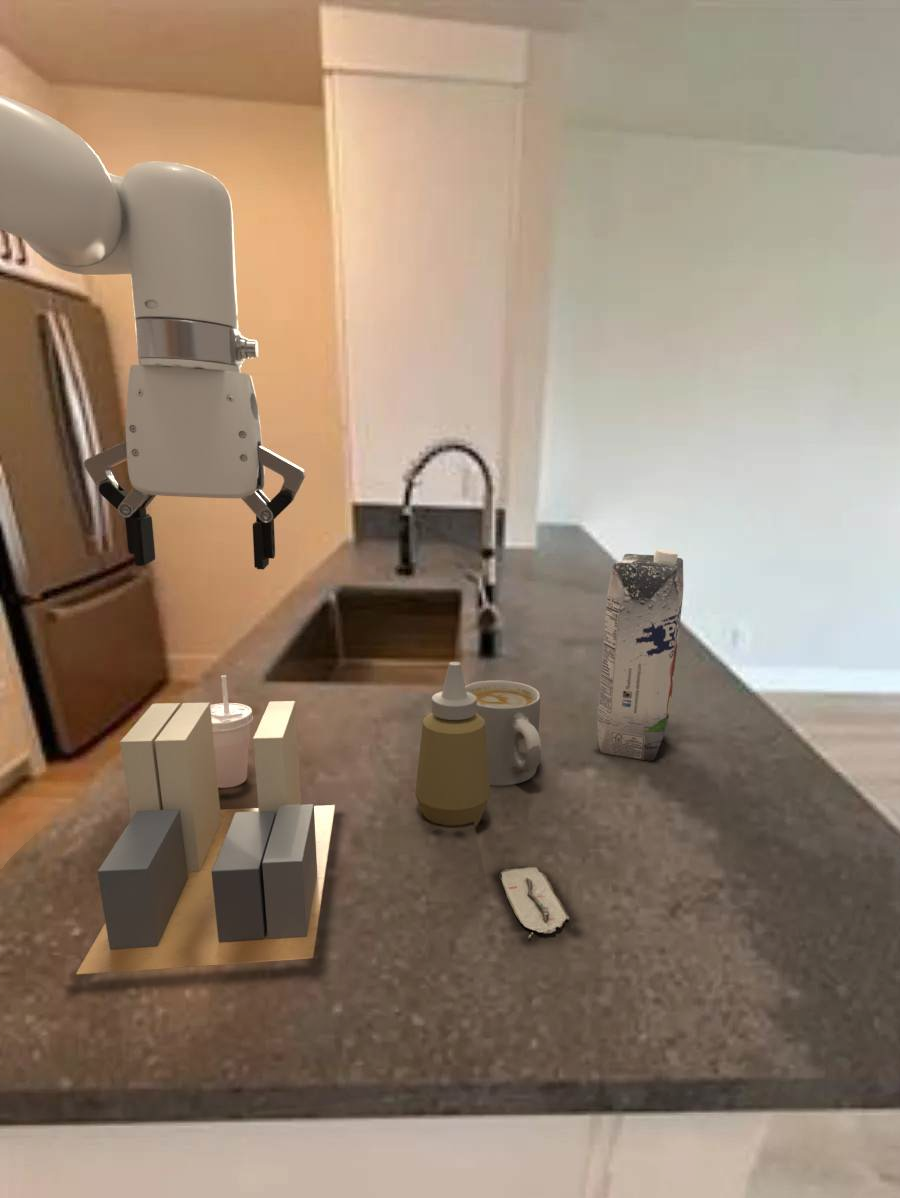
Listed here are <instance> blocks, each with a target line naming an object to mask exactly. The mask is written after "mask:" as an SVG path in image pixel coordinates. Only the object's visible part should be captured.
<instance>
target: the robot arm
mask: <svg viewBox="0 0 900 1198" xmlns="http://www.w3.org/2000/svg"><path fill="white" fill-rule="evenodd" d="M231 199H232V198H231V196H230V193H229V191H228V189H227V187H226V186H225V184H224V183H223V182H222V181H221V180H220V179H218V178H217V177H216V176H215V175H213V174H211V173H209V172H206V171H205V170H202V169H200V168H196V167H194V166H192V165H191V166H190V165H187V164H182V163H177V162H170V161H162V160H161V161H158V160H154V161H153V160H152V161H144V162H143V161H142V162H139V163H136V164H134V165H132V166H131V167H130V168H129V169H128V170H127V172H126V173H125V175H124V176H120V175H115V174H112V173H110V172H108V170H107V169H106V167H105V165H104V164H103V162H102V160H101V159H100V157H99V155H97V152H95V150H94V149H93V148H92V147H91V146H90V145H89V144H88V143H87V142H86V141H85V140H84V139H83V138H82V137H81V136H80V135H79V134H78V133H76V132H75V131H74V130H72V129H71V128H69V127H68V126H67V125H65V124H64V123H62V122H61V121H59V120H57V119H56V118H53V117H51V116H50V115H48V114H46V113H45V112H42V111H40V110H38V109H36V108H33V107H32V106H29V105H27V104H24V103H22V102H20V101H17V100H16V99H13V98H11V97H9V96H6V95H4V94H1V93H0V230H1V231H3V232H6V233H8V234H11V235H14V236H16V237H18V238H20V239H22V241H24V242H25V243H26V244H27V245H28V247H30V248H31V249H32V250H33V251H34V252H35V253H36V254H37V255H38V256H39V257H41V258H42V259H43V260H44V261H46V262H47V263H49V264H50V265H52V266H53V267H56V268H58V269H59V270H62V271H64V272H65V271H66V272H68V273H71V274H75V275H81V276H82V275H84V276H110V275H112V276H113V275H130V280H131V281H130V282H131V289H132V290H131V291H132V293H131V294H132V305H133V315H134V324H135V325H134V326H135V337H136V349H137V358H138V364H130V368H129V374H128V382H127V395H126V409H125V414H126V415H125V440H124V441H121V442H120V443H117V444H115V445H113V446H111V447H108V448H106V449H105V450H103V451H100V452H98V453H97V454H95V455H93V456H90V457H88V458H86V459H85V460H84V462H83V466H84V468H85V470H86V472H87V473H88V475H89V477H90V478H91V479H92V481H93V483H94V484H95V485H96V486H97V488H98V492H99V494H100V495H101V496H102V497H103V498H104V499H105V500H106V501H107V502H109V503H110V504H111V505H112V506H113V507H114V508H115V509H116V510H117V513H118V514H119V516H121V517H123V518H124V520H125V532H126V541H127V551H128V553H129V554H130V555H133V557H134V558H133V559H134V564H135V566H136V567H144V566H146V565H148V564H149V563H151V562H153V561H155V560H156V551H155V550H156V548H155V538H154V527H153V526H154V525H153V518H152V516H151V515H150V513H147V508H148V506H149V505H150V504H151V503H152V502H153V500H154V499H155V498H156V496H161V497H163V496H164V497H183V498H184V497H185V498H208V499H241V500H242V501H243V502H244V504H246V506H248V508H249V509H250V510H251V511H252V513H253V514H254V515H255V521H254V522H253V523H252V539H253V540H252V543H253V545H252V546H253V564H254V569H257V570H265V569H266V568H267V567H268V565H270V559H271V560H272V559H273V560H274V559H275V557H276V538H275V537H276V536H275V535H276V534H275V519H276V518H277V517H278V516H279V515H280V514H281V513H282V512H283V511H284V510H286V508H287V507H288V506H289V505H290V504H292V502H294V501H295V497H296V495H297V494H298V492H299V489H300V487H301V486H302V484H303V482H304V480H305V477H306V472H305V470H304V469H303V468H302V467H300V466H298V465H296V464H294V463H292V462H291V461H289V460H288V459H286V458H284V457H282V456H280V455H278V454H277V453H275V452H273V451H271V450H270V449H267V448H266V447H264V446H263V437H262V427H261V420H260V419H261V418H260V413H259V405H258V401H257V394H256V390H255V386H254V382H253V378H252V375H251V374H249V373H246V372H241V367H243V363H244V362H245V360H249V359H258V358H259V344H258V341H257V340H255V339H248V338H247V337H244V336H243V335H241V332H240V331H239V316H238V315H239V314H238V297H237V296H238V295H237V277H236V259H235V258H236V257H235V235H234V217H233V215H234V214H233V205H232V204H233V203H232V200H231ZM124 462H126V464H127V473H128V478H129V482H130V484H131V487H132V488H131V490H130V491H127V490H126V489H125V488H124V487H123V486H122V485H121V484H120V483H119V482H117V480H116V479H115V476H114V474H113V473H112V470H113V468H114V467H116V466H118V465H120V464H122V463H124ZM265 467H266V468H267V469H269V470H271V471H272V472H275V473H276V474H278V475H280V476H281V477H282V478H283V483H282V486H281V487H280V490H279V492H277V494H276V495H275V496H274V497H272V498H271V500H270V499H269V498H268V496H267V495H266V494H265V493H264V492H263V491H262V490H263V489H264V487H265V483H266V469H265Z"/></svg>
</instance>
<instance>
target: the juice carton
mask: <svg viewBox="0 0 900 1198" xmlns="http://www.w3.org/2000/svg"><path fill="white" fill-rule="evenodd" d="M683 599H684V560H683V558H682V557H679V552H676V551H674V550H669V549H661V548H658V549H657V548H656V549H655V551H654V554H637V553H624V554H623V557H622V559H621V560H619V561H616V562H614V563H613V564H612V567H611V574H610V578H609V584H608V590H607V597H606V607H605V622H604V632H603V643H602V645H603V646H602V657H601V669H600V681H599V696H598V706H597V707H598V708H597V709H598V710H597V736H598V746H599V747H598V748H599V751H600V753H602V754H605V755H611V756H616V757H617V756H618V757H624V758H629V759H636V760H641V761H647V762H653V761H654V760H655V759H656V757H657V754H658V752H659V749H660V746H661V744H662V741H663V738H664V735H665V731H666V728H667V725H668V723H669V719H670V713H671V707H672V699H673V698H672V697H673V688H674V681H675V680H674V679H675V671H676V662H677V655H678V644H679V637H680V626H681V619H682V618H681V617H682V610H683V609H682V608H683Z"/></svg>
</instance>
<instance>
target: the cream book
mask: <svg viewBox="0 0 900 1198" xmlns="http://www.w3.org/2000/svg"><path fill="white" fill-rule="evenodd" d="M297 723H298V722H297V704H296V701H295V700H291V701H290V700H282V701H281V700H280V701H279V700H277V701H276V700H275V701H269V702H268V704H267V706H266V708H265V711H264V713H263V715H262V717H261V720H260V722H259V724H258V726H257V728H256V731H255V733H254V735H253V738H252V742H253V757H254V768H255V770H254V771H255V781H256V782H255V783H256V784H255V785H256V795H257V808H258V810H259V811H276V814H277V811H278V807H279V805H302V793H301V792H302V791H301V777H300V776H301V774H300V757H299V740H298V739H299V737H298V724H297Z"/></svg>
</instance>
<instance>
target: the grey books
mask: <svg viewBox="0 0 900 1198" xmlns="http://www.w3.org/2000/svg"><path fill="white" fill-rule="evenodd" d="M314 806H315V804H314V803H307V804H303V803H302V804H301V805H279V807H278V811H277V814H276V811H256V812H235V814H234V817H233V819H232V822H231V824H230V827H229V829H228V832H227V834H226V836H225V839H224V841H223V844H222V846H221V849H220V851H219V854H218V856H217V859H216V861H215V864H214V866H213V869H212V871H211V873H212V883H213V892H214V902H215V912H216V922H217V931H218V941H219V942H229V941H244V940H260V939H264V938H265V935H266V930H267V933H268V939H278V938H293V937H306V936H307V931H308V925H309V919H310V913H311V907H312V901H313V895H314V889H315V883H316V877H317V856H316V836H315V816H314ZM97 878H98V883H99V890H100V897H101V903H102V909H103V914H104V921H105V922H106V928H107V935H108V941H109V947H110V949H122V948H138V947H153V946H158V944H159V942H160V939H161V937H162V935H163V933H164V930H165V928H166V926H167V924H168V922H169V919H170V917H171V915H172V913H173V910H174V908H175V906H176V904H177V901H178V899H179V897H180V895H181V893H182V890H183V888H184V886H185V884H186V881H187V879H188V876H187V867H186V858H185V850H184V841H183V832H182V824H181V815H180V809H173V810H147V811H137V812H136V813H135V815H134V816H133V818H132V820H131V819H130V821H129V822H128V824H127V825H126V826H125V829H124V830H123V831H122V833H121V835H120V836H119V837H118V839H117V841H116V842H115V843H114V845H113V847H112V849H111V850H110V852H109V853H108V854H107V856H106V857H105V858H104V861H103V862H102V863H101V865H100V866H99V868H98V869H97ZM105 922H104V923H105Z"/></svg>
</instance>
